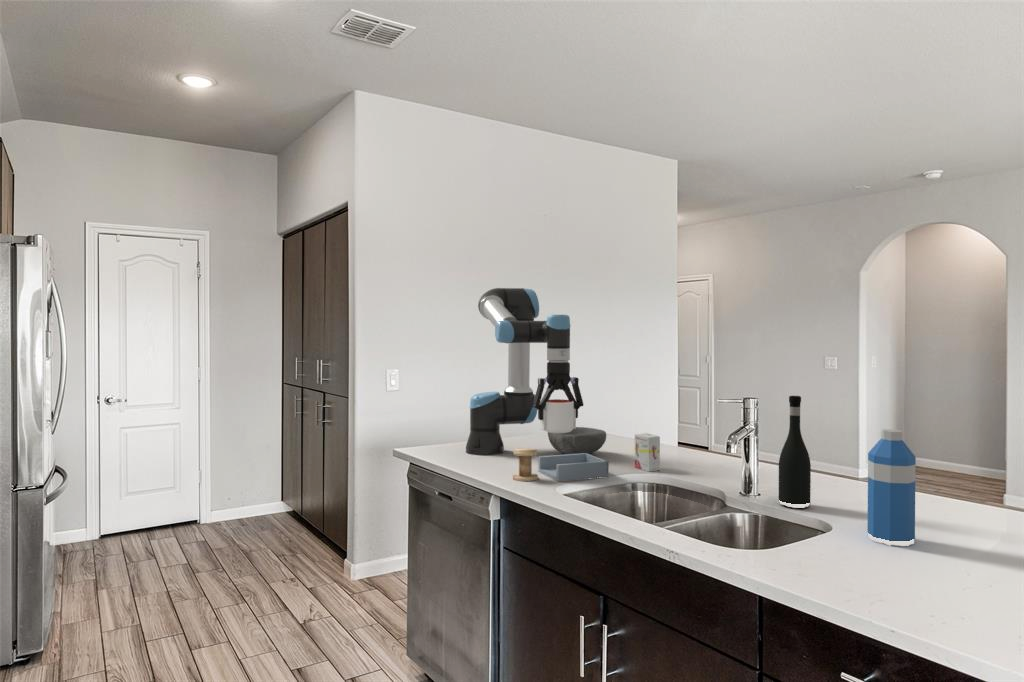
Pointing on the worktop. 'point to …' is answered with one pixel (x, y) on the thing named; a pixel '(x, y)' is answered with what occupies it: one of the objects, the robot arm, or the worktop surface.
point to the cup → (559, 416)
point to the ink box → (647, 452)
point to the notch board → (573, 467)
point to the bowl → (578, 440)
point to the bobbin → (525, 465)
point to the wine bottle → (794, 462)
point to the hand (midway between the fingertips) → (558, 429)
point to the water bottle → (891, 488)
